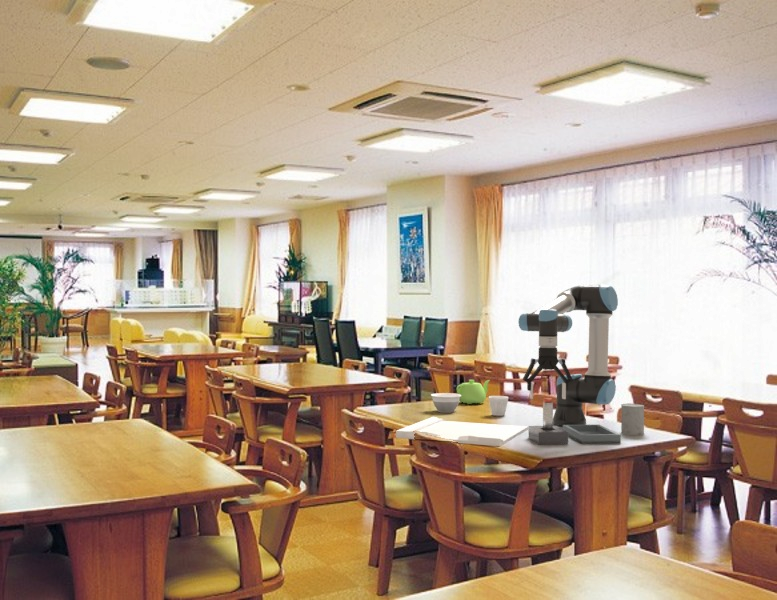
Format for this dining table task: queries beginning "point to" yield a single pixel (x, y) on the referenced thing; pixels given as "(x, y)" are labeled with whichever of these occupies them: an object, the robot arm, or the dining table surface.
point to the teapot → (472, 392)
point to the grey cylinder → (632, 419)
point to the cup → (498, 405)
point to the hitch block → (548, 435)
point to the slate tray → (592, 434)
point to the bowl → (446, 401)
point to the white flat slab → (463, 431)
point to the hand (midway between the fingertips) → (547, 398)
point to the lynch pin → (547, 414)
